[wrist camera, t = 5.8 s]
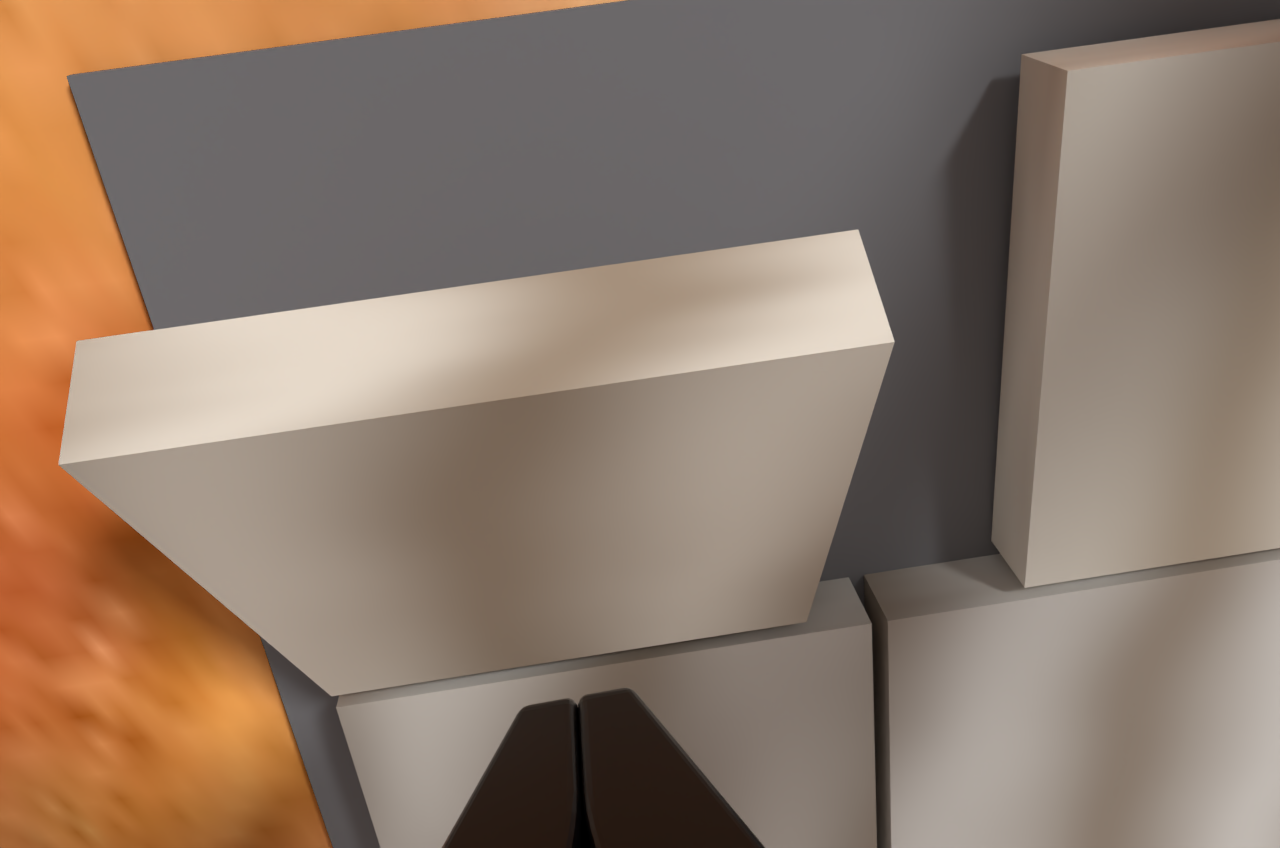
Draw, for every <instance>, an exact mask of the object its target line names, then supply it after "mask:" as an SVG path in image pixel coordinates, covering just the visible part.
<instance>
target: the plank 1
mask: <svg viewBox="0 0 1280 848" xmlns="http://www.w3.org/2000/svg"><path fill="white" fill-rule="evenodd" d="M894 343H895V341H894V338H893V335H892V332H891V329H890V326H889V323H888V320H887V316H886V313H885V310H884V307H883V304H882V301H881V298H880V295H879V292H878V289H877V286H876V283H875V279H874V276H873V273H872V270H871V267H870V264H869V261H868V258H867V255H866V252H865V249H864V245H863V242H862V239H861V236H860V233H859V230H851V231H844V232H837V233H830V234H823V235H816V236H809V237H802V238H795V239H788V240H781V241H774V242H767V243H760V244H753V245H746V246H739V247H732V248H725V249H718V250H711V251H704V252H697V253H690V254H683V255H676V256H669V257H662V258H655V259H648V260H641V261H634V262H627V263H620V264H613V265H606V266H599V267H592V268H585V269H578V270H571V271H564V272H557V273H550V274H543V275H536V276H529V277H522V278H515V279H508V280H501V281H494V282H487V283H480V284H473V285H465V286H459V287H452V288H444V289H437V290H431V291H423V292H416V293H409V294H402V295H395V296H388V297H381V298H374V299H367V300H360V301H353V302H346V303H339V304H332V305H325V306H318V307H311V308H304V309H297V310H290V311H283V312H276V313H269V314H262V315H255V316H248V317H241V318H234V319H227V320H220V321H213V322H206V323H199V324H192V325H185V326H178V327H171V328H164V329H157V330H150V331H143V332H136V333H129V334H122V335H115V336H108V337H101V338H94V339H87V340H80V341H77V342H76V349H75V356H74V363H73V370H72V377H71V383H70V390H69V397H68V404H67V411H66V417H65V424H64V431H63V438H62V445H61V451H60V458H59V466H61V467H62V468H63V469H64V470H65V471H66V472H68V473H69V474H70V475H71V476H72V477H73V478H75V479H76V480H77V481H78V482H79V483H81V484H82V485H83V486H84V487H85V488H86V489H88V490H89V491H90V492H91V493H92V494H93V495H95V496H96V497H97V498H98V499H99V500H101V501H102V502H103V503H104V504H105V505H106V506H108V507H109V508H110V509H111V510H112V511H114V512H115V513H116V514H117V515H118V516H119V517H121V518H122V519H123V520H124V521H125V522H126V523H128V524H129V525H130V526H131V527H132V528H134V529H135V530H136V531H137V532H138V533H139V534H141V535H142V536H143V537H144V538H145V539H147V540H148V541H149V542H150V543H151V544H152V545H154V546H155V547H156V548H157V549H158V550H159V551H161V552H162V553H163V554H164V555H165V556H167V557H168V558H169V559H170V560H171V561H172V562H174V563H175V564H176V565H177V566H178V567H180V568H181V569H182V570H183V571H184V572H185V573H187V574H188V575H189V576H190V577H191V578H192V579H194V580H195V581H196V582H197V583H198V584H200V585H201V586H202V587H203V588H204V589H205V590H207V591H208V592H209V593H210V594H211V595H213V596H214V597H215V598H216V599H217V600H218V601H220V602H221V603H222V604H223V605H224V606H225V607H227V608H228V609H229V610H230V611H231V612H233V613H234V614H235V615H236V616H237V617H238V618H240V619H241V620H242V621H243V622H244V623H245V624H247V625H248V626H249V627H250V628H251V629H253V630H254V631H255V632H256V633H257V634H258V635H260V636H261V637H262V638H263V639H264V640H266V641H267V642H268V643H269V644H270V645H271V646H273V647H274V648H275V649H276V650H277V651H278V652H280V653H281V654H282V655H283V656H284V657H286V658H287V659H288V660H289V661H290V662H291V663H293V664H294V665H295V666H296V667H297V668H299V669H300V670H301V671H302V672H303V673H304V674H306V675H307V676H308V677H309V678H310V679H311V680H313V681H314V682H315V683H316V684H317V685H319V686H320V687H321V688H322V689H323V690H324V691H326V692H327V693H328V694H329V695H330V696H337V695H344V694H350V693H356V692H363V691H369V690H376V689H382V688H388V687H395V686H401V685H407V684H414V683H420V682H427V681H433V680H439V679H446V678H452V677H459V676H465V675H471V674H478V673H484V672H490V671H497V670H503V669H510V668H516V667H522V666H529V665H535V664H542V663H548V662H554V661H561V660H567V659H573V658H580V657H586V656H593V655H599V654H605V653H612V652H618V651H625V650H631V649H637V648H644V647H650V646H657V645H663V644H669V643H676V642H682V641H688V640H695V639H701V638H708V637H714V636H720V635H727V634H733V633H740V632H746V631H752V630H759V629H765V628H771V627H778V626H784V625H791V624H797V623H803V622H807V619H808V616H809V612H810V609H811V606H812V603H813V600H814V597H815V593H816V590H817V587H818V584H819V581H820V578H821V574H822V571H823V568H824V565H825V562H826V558H827V555H828V552H829V549H830V546H831V543H832V539H833V536H834V533H835V530H836V527H837V524H838V520H839V517H840V514H841V511H842V508H843V505H844V501H845V498H846V495H847V492H848V489H849V485H850V482H851V479H852V476H853V473H854V470H855V466H856V463H857V460H858V457H859V454H860V451H861V447H862V444H863V441H864V438H865V435H866V431H867V428H868V425H869V422H870V419H871V416H872V412H873V409H874V406H875V403H876V400H877V397H878V393H879V390H880V387H881V384H882V381H883V377H884V374H885V371H886V368H887V365H888V362H889V358H890V355H891V352H892V349H893V346H894Z"/></svg>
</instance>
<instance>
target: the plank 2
mask: <svg viewBox="0 0 1280 848" xmlns="http://www.w3.org/2000/svg"><path fill="white" fill-rule="evenodd" d="M991 541H992V542H993V544H994V545H995V547H996V548H997V549H998V551H999V552H1000V554H1001V555H1002V557H1003V558H1004V559H1005V561H1006V562H1007V564H1008V565H1009V566H1010V568H1011V569H1012V571H1013V572H1014V574H1015V575H1016V576H1017V578H1018V579H1019V581H1020V582H1021V583H1022V585H1023V586H1024V588H1027V587H1033V586H1040V585H1046V584H1052V583H1059V582H1065V581H1072V580H1078V579H1084V578H1091V577H1097V576H1104V575H1110V574H1116V573H1123V572H1129V571H1135V570H1142V569H1148V568H1155V567H1161V566H1167V565H1174V564H1180V563H1187V562H1193V561H1199V560H1206V559H1212V558H1219V557H1225V556H1231V555H1238V554H1244V553H1250V552H1257V551H1263V550H1270V549H1276V548H1280V19H1275V20H1267V21H1260V22H1253V23H1245V24H1238V25H1231V26H1224V27H1216V28H1209V29H1202V30H1195V31H1187V32H1180V33H1173V34H1165V35H1158V36H1151V37H1144V38H1136V39H1129V40H1122V41H1114V42H1107V43H1100V44H1093V45H1085V46H1078V47H1071V48H1063V49H1056V50H1049V51H1042V52H1034V53H1027V54H1022V55H1021V71H1020V87H1019V103H1018V119H1017V135H1016V151H1015V167H1014V183H1013V199H1012V215H1011V231H1010V247H1009V263H1008V279H1007V296H1006V312H1005V328H1004V344H1003V360H1002V376H1001V392H1000V408H999V424H998V440H997V456H996V472H995V488H994V504H993V520H992V536H991Z"/></svg>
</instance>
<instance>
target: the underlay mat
mask: <svg viewBox="0 0 1280 848" xmlns="http://www.w3.org/2000/svg"><path fill="white" fill-rule="evenodd" d="M1275 19H1280V0H626V1H619V2H611V3H604V4H596V5H589V6H581V7H574V8H566V9H559V10H551V11H544V12H536V13H529V14H522V15H514V16H507V17H499V18H492V19H484V20H477V21H469V22H462V23H454V24H447V25H439V26H432V27H424V28H417V29H409V30H402V31H394V32H387V33H379V34H372V35H364V36H357V37H349V38H342V39H334V40H327V41H319V42H312V43H304V44H297V45H289V46H282V47H274V48H267V49H259V50H252V51H244V52H237V53H229V54H222V55H214V56H207V57H200V58H192V59H185V60H177V61H170V62H162V63H155V64H147V65H140V66H132V67H125V68H117V69H110V70H102V71H95V72H87V73H80V74H72V75H69V76H67V79H68V82H69V85H70V88H71V90H72V93H73V96H74V99H75V102H76V105H77V108H78V111H79V114H80V117H81V119H82V122H83V125H84V128H85V131H86V134H87V137H88V140H89V143H90V145H91V148H92V151H93V154H94V157H95V160H96V163H97V166H98V169H99V172H100V174H101V177H102V180H103V183H104V186H105V189H106V192H107V195H108V198H109V200H110V203H111V206H112V209H113V212H114V215H115V218H116V221H117V224H118V227H119V229H120V232H121V235H122V238H123V241H124V244H125V247H126V250H127V253H128V256H129V258H130V261H131V264H132V267H133V270H134V273H135V276H136V279H137V282H138V284H139V287H140V290H141V293H142V296H143V299H144V302H145V305H146V308H147V311H148V313H149V316H150V319H151V322H152V325H153V328H154V330H157V329H164V328H171V327H178V326H185V325H192V324H199V323H206V322H213V321H220V320H227V319H234V318H241V317H248V316H255V315H262V314H269V313H276V312H283V311H290V310H297V309H304V308H311V307H318V306H325V305H332V304H339V303H346V302H353V301H360V300H367V299H374V298H381V297H388V296H395V295H402V294H409V293H416V292H423V291H431V290H437V289H444V288H452V287H459V286H465V285H473V284H480V283H487V282H494V281H501V280H508V279H515V278H522V277H529V276H536V275H543V274H550V273H557V272H564V271H571V270H578V269H585V268H592V267H599V266H606V265H613V264H620V263H627V262H634V261H641V260H648V259H655V258H662V257H669V256H676V255H683V254H690V253H697V252H704V251H711V250H718V249H725V248H732V247H739V246H746V245H753V244H760V243H767V242H774V241H781V240H788V239H795V238H802V237H809V236H816V235H823V234H830V233H837V232H844V231H851V230H859V233H860V236H861V239H862V242H863V245H864V249H865V252H866V255H867V258H868V261H869V264H870V267H871V270H872V273H873V276H874V279H875V283H876V286H877V289H878V292H879V295H880V298H881V301H882V304H883V307H884V310H885V313H886V316H887V320H888V323H889V326H890V329H891V332H892V335H893V338H894V341H895V343H894V346H893V349H892V352H891V355H890V358H889V362H888V365H887V368H886V371H885V374H884V377H883V381H882V384H881V387H880V390H879V393H878V397H877V400H876V403H875V406H874V409H873V412H872V416H871V419H870V422H869V425H868V428H867V431H866V435H865V438H864V441H863V444H862V447H861V451H860V454H859V457H858V460H857V463H856V466H855V470H854V473H853V476H852V479H851V482H850V485H849V489H848V492H847V495H846V498H845V501H844V505H843V508H842V511H841V514H840V517H839V520H838V524H837V527H836V530H835V533H834V536H833V539H832V543H831V546H830V549H829V552H828V555H827V558H826V562H825V565H824V568H823V571H822V574H821V578H820V581H819V582H821V581H827V580H834V579H840V578H847V577H849V579H850V581H851V583H852V585H853V587H854V589H855V591H856V593H857V595H858V597H859V599H860V601H861V603H862V605H863V607H864V609H865V599H864V575H866V574H872V573H879V572H885V571H892V570H898V569H904V568H911V567H917V566H924V565H930V564H937V563H943V562H950V561H956V560H962V559H969V558H975V557H982V556H988V555H995V554H1000V552H999V551H998V549H997V548H996V547H995V545H994V544H993V542H992V541H991V536H992V520H993V504H994V488H995V472H996V456H997V440H998V424H999V408H1000V392H1001V376H1002V360H1003V344H1004V328H1005V312H1006V296H1007V279H1008V263H1009V247H1010V231H1011V215H1012V199H1013V183H1014V167H1015V151H1016V135H1017V119H1018V103H1019V87H1020V71H1021V55H1022V54H1027V53H1034V52H1042V51H1049V50H1056V49H1063V48H1071V47H1078V46H1085V45H1093V44H1100V43H1107V42H1114V41H1122V40H1129V39H1136V38H1144V37H1151V36H1158V35H1165V34H1173V33H1180V32H1187V31H1195V30H1202V29H1209V28H1216V27H1224V26H1231V25H1238V24H1245V23H1253V22H1260V21H1267V20H1275ZM260 638H261V641H262V644H263V646H264V649H265V652H266V655H267V658H268V661H269V664H270V667H271V670H272V672H273V675H274V678H275V681H276V684H277V687H278V690H279V693H280V696H281V699H282V701H283V704H284V707H285V710H286V713H287V716H288V719H289V722H290V725H291V727H292V730H293V733H294V736H295V739H296V742H297V745H298V748H299V751H300V754H301V756H302V759H303V762H304V765H305V768H306V771H307V774H308V777H309V780H310V783H311V785H312V788H313V791H314V794H315V797H316V800H317V803H318V806H319V809H320V811H321V814H322V817H323V820H324V823H325V826H326V829H327V832H328V835H329V838H330V840H331V843H332V846H333V848H380V845H379V841H378V838H377V835H376V832H375V829H374V826H373V823H372V819H371V816H370V813H369V810H368V807H367V804H366V800H365V797H364V794H363V791H362V788H361V785H360V782H359V778H358V775H357V772H356V769H355V766H354V763H353V759H352V756H351V753H350V750H349V747H348V744H347V741H346V737H345V734H344V731H343V728H342V725H341V722H340V719H339V715H338V712H337V709H336V706H337V702H338V698H339V695H337V696H330V695H329V694H328V693H327V692H326V691H324V690H323V689H322V688H321V687H320V686H319V685H317V684H316V683H315V682H314V681H313V680H311V679H310V678H309V677H308V676H307V675H306V674H304V673H303V672H302V671H301V670H300V669H299V668H297V667H296V666H295V665H294V664H293V663H291V662H290V661H289V660H288V659H287V658H286V657H284V656H283V655H282V654H281V653H280V652H278V651H277V650H276V649H275V648H274V647H273V646H271V645H270V644H269V643H268V642H267V641H266V640H264V639H263V638H262V637H261V636H260Z"/></svg>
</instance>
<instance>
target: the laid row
mask: <svg viewBox="0 0 1280 848" xmlns="http://www.w3.org/2000/svg"><path fill="white" fill-rule="evenodd" d="M864 599H865V609H864V607H863V605H862V603H861V601H860V599H859V597H858V595H857V593H856V591H855V589H854V587H853V585H852V583H851V581H850V579H849V577H847V578H840V579H834V580H827V581H821V582H819V584H818V587H817V590H816V593H815V597H814V600H813V603H812V606H811V609H810V612H809V616H808V619H807V622H803V623H797V624H791V625H784V626H778V627H771V628H765V629H759V630H752V631H746V632H740V633H733V634H727V635H720V636H714V637H708V638H701V639H695V640H688V641H682V642H676V643H669V644H663V645H657V646H650V647H644V648H637V649H631V650H625V651H618V652H612V653H605V654H599V655H593V656H586V657H580V658H573V659H567V660H561V661H554V662H548V663H542V664H535V665H529V666H522V667H516V668H510V669H503V670H497V671H490V672H484V673H478V674H471V675H465V676H459V677H452V678H446V679H439V680H433V681H427V682H420V683H414V684H407V685H401V686H395V687H388V688H382V689H376V690H369V691H363V692H356V693H350V694H344V695H339V698H338V702H337V706H336V709H337V712H338V715H339V719H340V722H341V725H342V728H343V731H344V734H345V737H346V741H347V744H348V747H349V750H350V753H351V756H352V759H353V763H354V766H355V769H356V772H357V775H358V778H359V782H360V785H361V788H362V791H363V794H364V797H365V800H366V804H367V807H368V810H369V813H370V816H371V819H372V823H373V826H374V829H375V832H376V835H377V838H378V841H379V845H380V848H442V846H443V845H444V843H445V841H446V839H447V837H448V836H449V834H450V832H451V830H452V829H453V827H454V825H455V823H456V822H457V820H458V818H459V816H460V814H461V813H462V811H463V809H464V807H465V806H466V804H467V802H468V800H469V798H470V797H471V795H472V793H473V791H474V790H475V788H476V786H477V784H478V783H479V781H480V779H481V777H482V775H483V774H484V772H485V770H486V768H487V767H488V765H489V763H490V761H491V759H492V758H493V756H494V754H495V752H496V751H497V749H498V747H499V745H500V744H501V742H502V740H503V738H504V736H505V735H506V733H507V731H508V729H509V728H510V726H511V724H512V722H513V720H514V719H515V717H516V715H517V714H518V712H519V711H520V710H521V709H522V708H523V707H525V706H528V705H532V704H537V703H543V702H548V701H553V700H559V699H564V698H570V699H572V700H574V701H575V702H576V703H577V706H578V703H579V701H580V699H581V698H582V697H583V696H584V695H587V694H592V693H597V692H602V691H608V690H613V689H619V688H630V689H632V690H634V691H635V692H636V693H637V694H638V695H639V696H640V698H641V699H642V700H643V701H644V702H645V704H646V705H647V706H648V707H649V708H650V710H651V711H652V712H653V713H654V714H655V716H656V717H657V718H658V719H659V720H660V722H661V723H662V724H663V725H664V726H665V728H666V729H667V730H668V731H669V732H670V734H671V735H672V736H673V737H674V738H675V740H676V741H677V742H678V743H679V744H680V746H681V747H682V748H683V749H684V751H685V752H686V753H687V754H688V755H689V757H690V758H691V759H692V760H693V761H694V763H695V764H696V765H697V766H698V767H699V769H700V770H701V771H702V772H703V773H704V775H705V776H706V777H707V778H708V779H709V781H710V782H711V783H712V784H713V785H714V787H715V788H716V789H717V790H718V791H719V793H720V794H721V795H722V796H723V797H724V799H725V800H726V801H727V802H728V803H729V805H730V806H731V807H732V808H733V809H734V811H735V812H736V813H737V814H738V815H739V817H740V818H741V819H742V820H743V821H744V823H745V824H746V825H747V826H748V827H749V829H750V830H751V831H752V832H753V833H754V835H755V836H756V837H757V838H758V839H759V841H760V842H761V843H762V844H763V845H764V847H765V848H1280V548H1276V549H1270V550H1263V551H1257V552H1250V553H1244V554H1238V555H1231V556H1225V557H1219V558H1212V559H1206V560H1199V561H1193V562H1187V563H1180V564H1174V565H1167V566H1161V567H1155V568H1148V569H1142V570H1135V571H1129V572H1123V573H1116V574H1110V575H1104V576H1097V577H1091V578H1084V579H1078V580H1072V581H1065V582H1059V583H1052V584H1046V585H1040V586H1033V587H1027V588H1024V586H1023V585H1022V583H1021V582H1020V581H1019V579H1018V578H1017V576H1016V575H1015V574H1014V572H1013V571H1012V569H1011V568H1010V566H1009V565H1008V564H1007V562H1006V561H1005V559H1004V558H1003V557H1002V555H1001V554H995V555H988V556H982V557H975V558H969V559H962V560H956V561H950V562H943V563H937V564H930V565H924V566H917V567H911V568H904V569H898V570H892V571H885V572H879V573H872V574H866V575H864Z"/></svg>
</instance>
